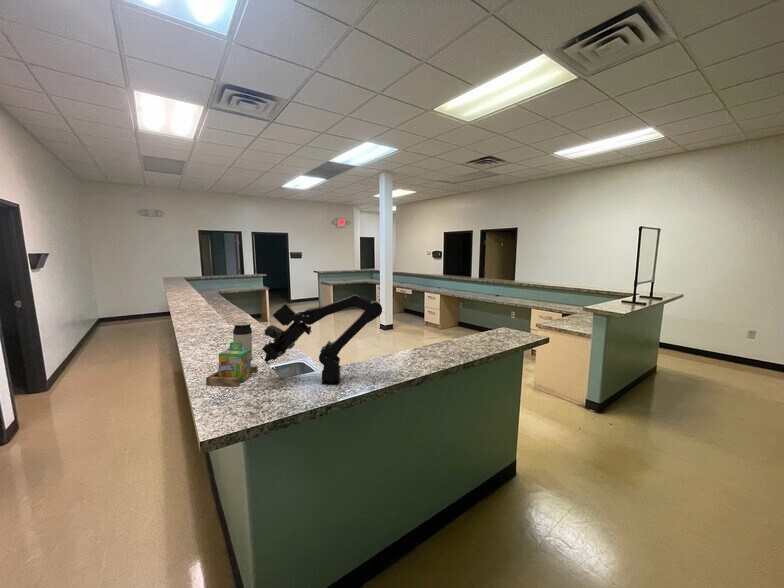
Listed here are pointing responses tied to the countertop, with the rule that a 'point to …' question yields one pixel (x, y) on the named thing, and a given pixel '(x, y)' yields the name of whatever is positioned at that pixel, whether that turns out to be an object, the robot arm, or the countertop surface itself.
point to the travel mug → (243, 335)
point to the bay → (226, 379)
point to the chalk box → (235, 362)
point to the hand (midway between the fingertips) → (265, 360)
